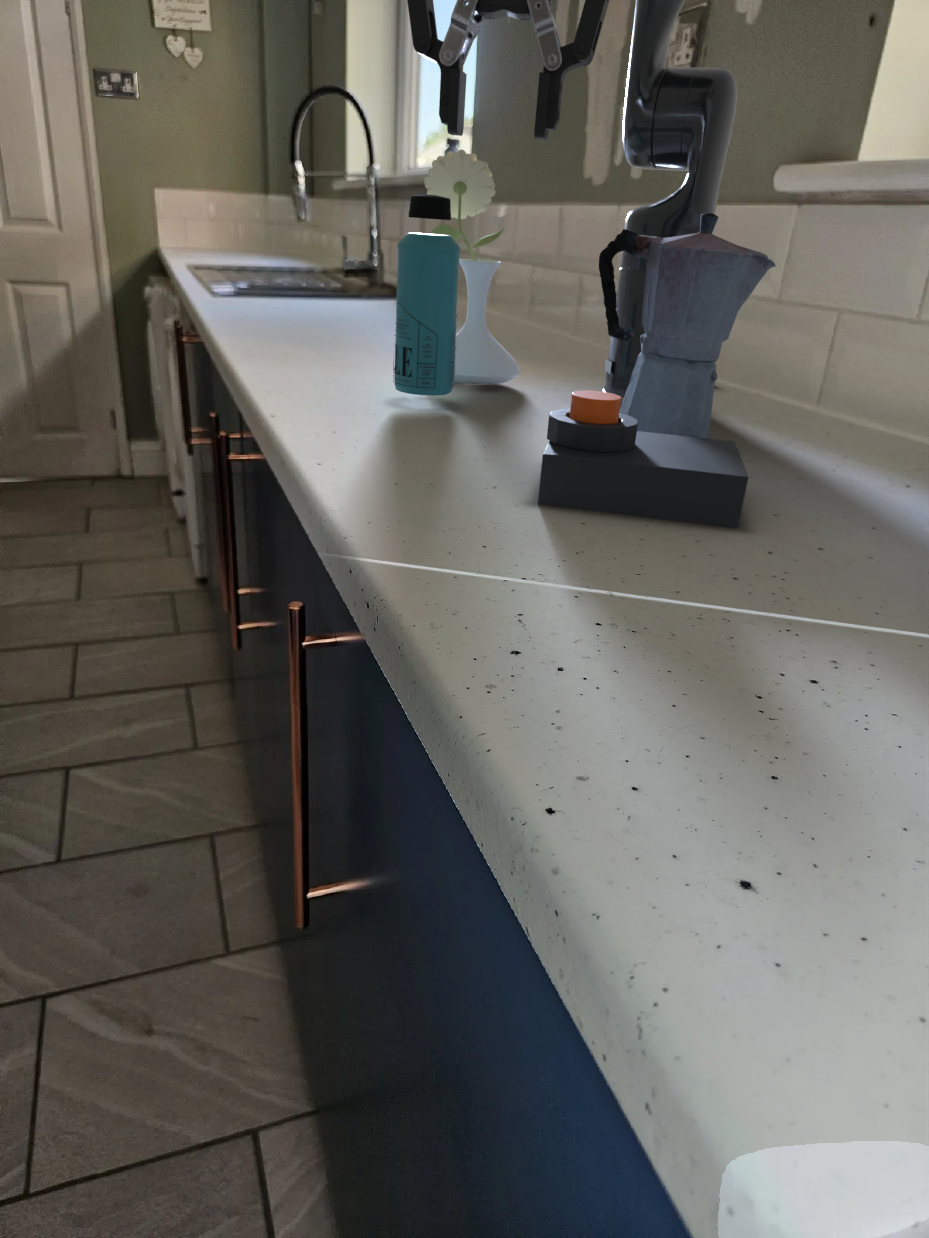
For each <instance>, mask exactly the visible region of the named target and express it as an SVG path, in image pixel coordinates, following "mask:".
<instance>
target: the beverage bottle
mask: <svg viewBox="0 0 929 1238" xmlns="http://www.w3.org/2000/svg"><path fill="white" fill-rule="evenodd" d="M408 218H414V219H426V220H428V219H429V220H441V221H451V220H452V217H451V201H450V199H449V198H445V197H442V196H437V195H427V194H416V195H414V194H413V195H411V196H410V200H409V208H408ZM396 245H397V246H396V247H397V280H396V283H395V284H396V290H394V291H395V293H396V295H395V296H394V298H395V299H396V300H395V301H394V303H395V306H396V307H395V322H394V324H395V330H394V332H395V334H394V336H395V341H394V361H393V366H392V367H393V368H392V370H393V380H392V382H393V383H394V386H395V390H396V391H398V392H401V393H404V394H409V395H417V396H431V397H432V396H446V395H449V394H451V393H452V391H453V388H454V386H455V385H456V384H455V383H456V382H454V381H455V380H454V379H455V378H454V377H455V375H454V374H455V373H454V372H455V370H454V366H456V365H454V364H455V362H456V361H455V358H456V357H455V349H456V348H455V347H456V346H455V342H456V341H457V340H455V338H456V334H457V327H458V324H459V323H457V319H459V317H458V314H457V308H458V307H457V306H458V290H459V289H458V288H459V269H460V263H459V259H460V253H461V247H460V245H459V244H458V242H457V241H455V240H454V239H453V238H452V237H451V236H450V235H439V234H429V233H425V232H424V233H423V232H407V233H406V234H405V235H404V236H403V237H402V238H401V239H400V240H399V242H398V243H397V244H396ZM455 369H456V368H455ZM453 380H454V381H453Z"/></svg>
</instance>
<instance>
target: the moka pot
mask: <svg viewBox="0 0 929 1238" xmlns="http://www.w3.org/2000/svg"><path fill="white" fill-rule="evenodd" d="M718 220H719V216H718V215H717V214H716V213H715V214H713V213H705V214H702V215H701V220H700V231H699V233H695V234H688V235H681V236H675V237H668V238H660V237H653V236H643V235H638V234H636V233H635V232H632V231H630V230H627V229H625V228H623V229H622V231H621V232H620V233H618V234H616V236H615V238H614V240H611V241H609V242H608V244H607V246H606V247H605V248H604V249H602V250H601V252H600V253H599V256H598V271H599V277H600V283H601V289H602V293H603V294H602V295H603V304H604V308H605V313H604V314H605V317H606V326H607V333H608V336H610V338H611V337H614V338H617V339H620V340H624V341H631V339H632V338H633V336H634V333H633V332H632V331H631V330H624V329H622V328H621V327H620V326H619V318H618V315H617V311H616V307H617V302H616V296H617V295H616V293H617V290H616V283H615V282H616V281H615V267H614V264H613V259H614V258H615V256H616V255H617V254H619V253H622V251H626V252H627V253H629V254H631V255H633V256H636V257H643V258H645V259H646V271H645V285H644V299H643V311H642V322H641V325H642V326H643V328H644V331H645V334H642V335H641V336H640V342H641V353H640V354H639V355H638V358H637V361H636V364H635V367H634V370H633V372H632V375H631V379H630V382H629V385H628V388H627V391H626V394H625V397H624V400H623V403H622V405H620V412H619V413H621V414H626V415H629V416H631V417H633V418H635V419H637V420H638V427H637V431H641V432H651V433H660V434H670V435H679V436H688V437H698V438H707V439H709V435H710V427H711V420H712V410H713V401H714V392H715V383H716V381H717V380H718V373H717V365H716V364H715V363H716V362H717V361H718V360H719V358H720V354H721V350H722V345H723V343H724V342H726V341H727V340H728V339H729V338H730V336H731V332H732V330H733V327H734V323H735V321H736V319H737V316H738V313H739V312H740V310H741V308H742V307H743V305H744V304H745V303H746V302H747V300H748V299H749V297H750V296H751V295H752V293H753V292H754V290H755V289H756V287H757V286H758V284H759V283H760V282H761V281H762V279H763V278H764V277H765V275H766V274H767V272H768V271H769V270H770V269H772V268H774V267H775V268H776V263H775V262H774V261H773V259H772V258H769V257H768V255H767V254H766V253H763V252H761V251H758V250H755V249H751V248H749V247H744V246H742V245H738V244H735V243H733V242H731V241H728V240H727V239H724V238H722V237H719V236H717V235H715V234H713V232H714V230H715V227H716V225H717V223H718Z"/></svg>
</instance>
